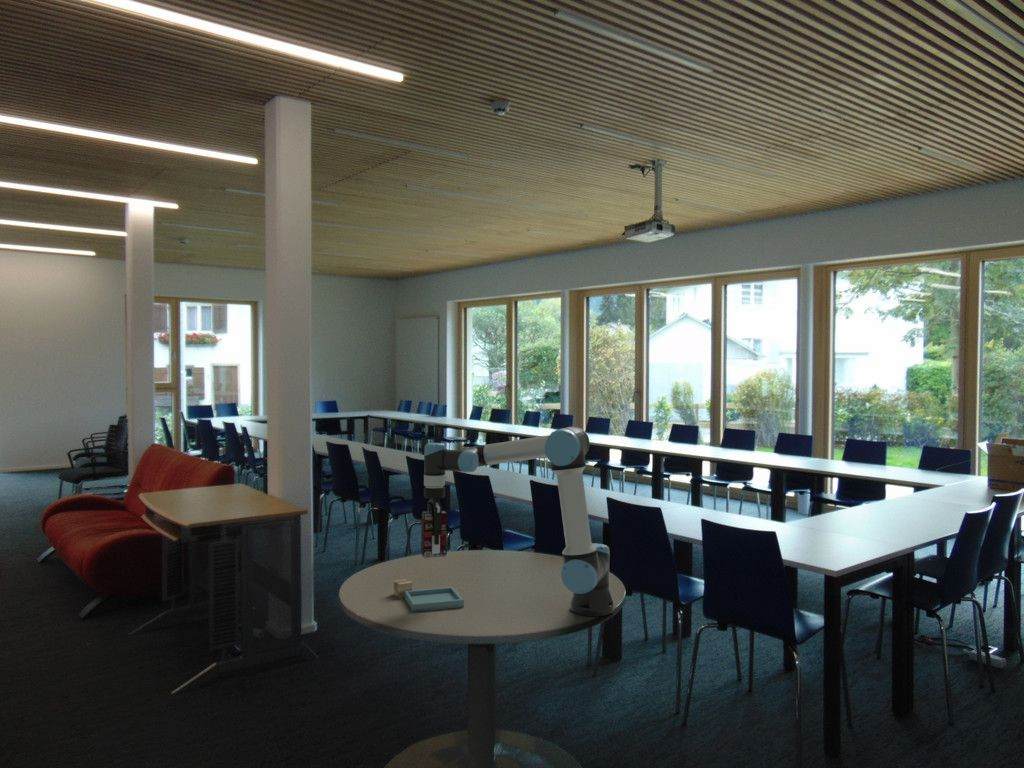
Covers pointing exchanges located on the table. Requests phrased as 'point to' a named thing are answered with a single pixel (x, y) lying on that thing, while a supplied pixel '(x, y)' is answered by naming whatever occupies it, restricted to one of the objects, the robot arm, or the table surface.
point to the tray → (433, 599)
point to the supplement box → (427, 538)
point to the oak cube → (402, 587)
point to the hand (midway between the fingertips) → (434, 551)
